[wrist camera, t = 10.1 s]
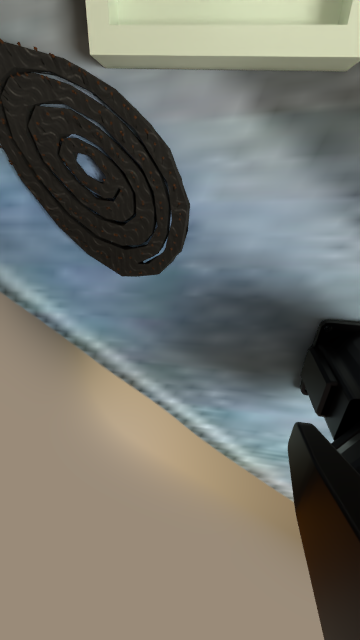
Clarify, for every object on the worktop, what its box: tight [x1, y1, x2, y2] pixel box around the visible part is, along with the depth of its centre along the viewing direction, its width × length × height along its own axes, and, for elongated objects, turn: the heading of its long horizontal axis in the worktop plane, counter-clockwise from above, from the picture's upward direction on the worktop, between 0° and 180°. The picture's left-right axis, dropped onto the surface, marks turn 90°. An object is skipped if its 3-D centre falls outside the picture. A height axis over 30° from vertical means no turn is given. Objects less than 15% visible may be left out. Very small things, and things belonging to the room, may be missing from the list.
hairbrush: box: [0, 39, 190, 277], centre depth 15 cm, size 8×4×25 cm
